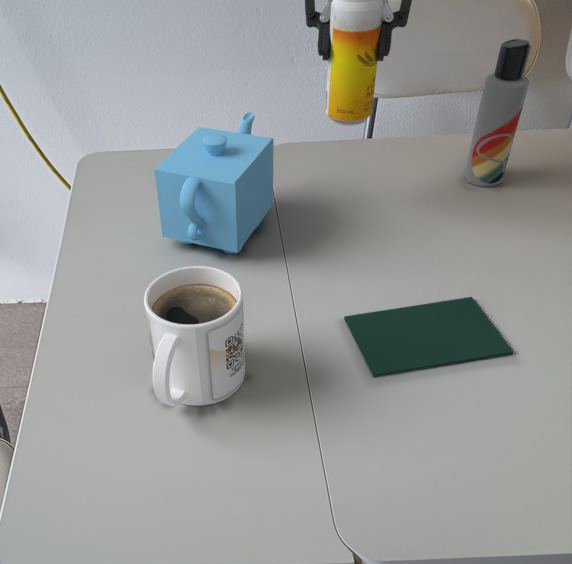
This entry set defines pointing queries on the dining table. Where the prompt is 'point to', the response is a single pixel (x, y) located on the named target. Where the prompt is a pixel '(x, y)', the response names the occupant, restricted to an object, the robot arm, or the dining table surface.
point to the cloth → (425, 336)
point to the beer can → (352, 60)
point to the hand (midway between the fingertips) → (353, 57)
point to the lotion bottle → (498, 115)
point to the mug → (196, 335)
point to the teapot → (216, 187)
